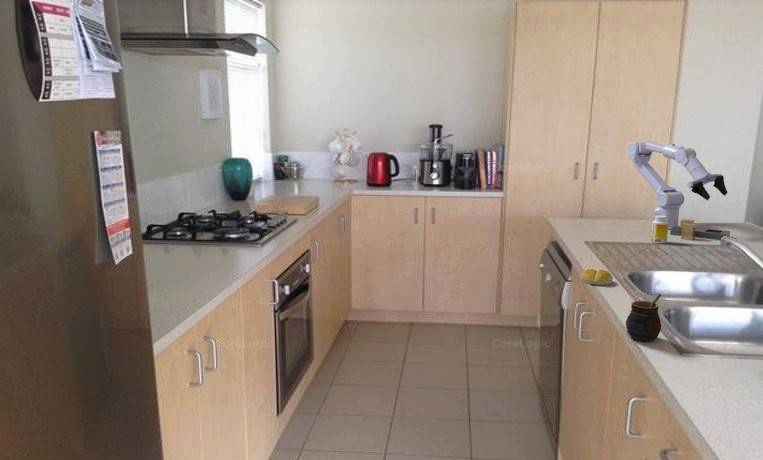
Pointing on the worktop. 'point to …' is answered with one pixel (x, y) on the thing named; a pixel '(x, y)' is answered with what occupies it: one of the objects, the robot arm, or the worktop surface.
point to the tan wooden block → (688, 231)
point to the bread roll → (596, 277)
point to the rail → (703, 233)
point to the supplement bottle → (659, 230)
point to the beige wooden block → (686, 222)
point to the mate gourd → (644, 320)
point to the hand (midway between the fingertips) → (717, 196)
